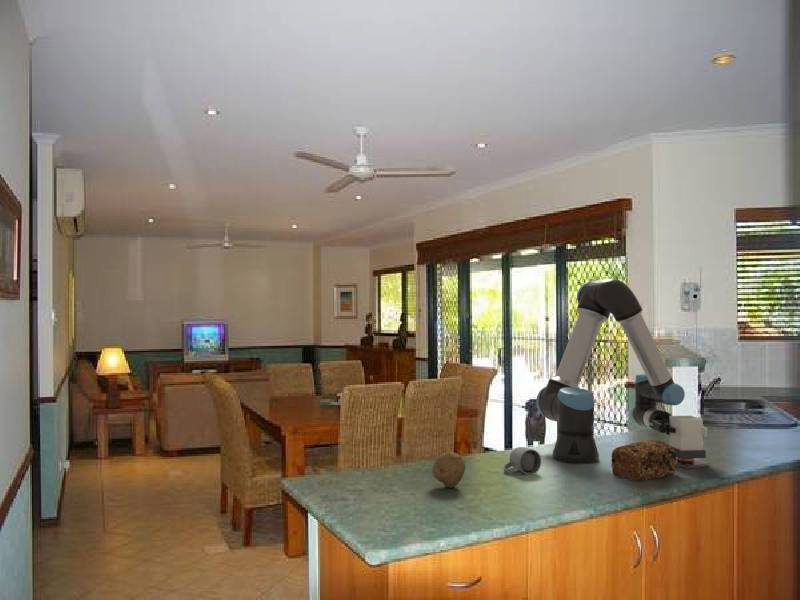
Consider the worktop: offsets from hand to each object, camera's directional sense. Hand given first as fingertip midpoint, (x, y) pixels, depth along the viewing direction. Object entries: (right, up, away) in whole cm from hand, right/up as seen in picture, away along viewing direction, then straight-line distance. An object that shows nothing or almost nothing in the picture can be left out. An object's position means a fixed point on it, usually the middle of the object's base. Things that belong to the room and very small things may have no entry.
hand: (694, 432), depth 217 cm
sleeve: (-1, -6, +5) cm, 8 cm away
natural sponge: (-81, -10, -27) cm, 86 cm away
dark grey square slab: (-1, -8, +5) cm, 10 cm away
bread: (-20, -11, -10) cm, 25 cm away
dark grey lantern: (-1, -11, +5) cm, 12 cm away
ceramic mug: (-57, -11, -8) cm, 59 cm away
